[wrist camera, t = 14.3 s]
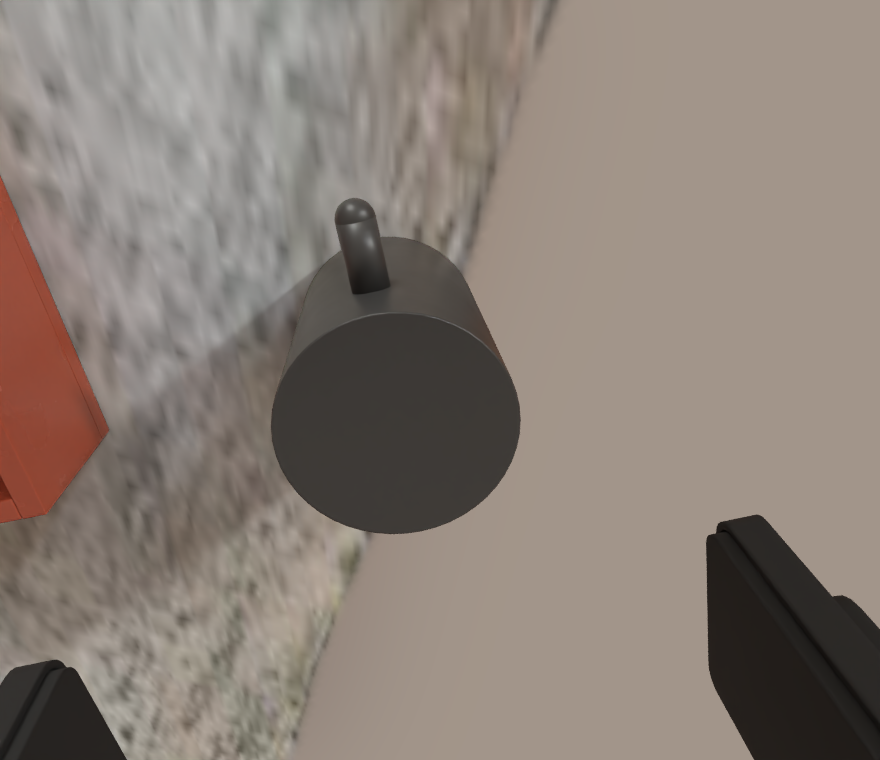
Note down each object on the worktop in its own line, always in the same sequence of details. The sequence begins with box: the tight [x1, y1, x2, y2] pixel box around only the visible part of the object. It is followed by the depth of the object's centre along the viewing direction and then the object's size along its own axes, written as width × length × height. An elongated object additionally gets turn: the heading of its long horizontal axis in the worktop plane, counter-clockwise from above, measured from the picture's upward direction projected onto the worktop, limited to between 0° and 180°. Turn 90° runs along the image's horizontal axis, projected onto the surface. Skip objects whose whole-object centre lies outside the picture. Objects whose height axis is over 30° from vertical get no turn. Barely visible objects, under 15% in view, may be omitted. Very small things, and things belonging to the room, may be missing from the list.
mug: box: [271, 198, 521, 534], centre depth 22 cm, size 9×7×9 cm
